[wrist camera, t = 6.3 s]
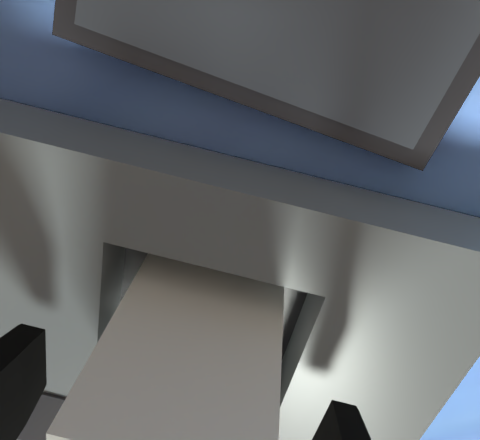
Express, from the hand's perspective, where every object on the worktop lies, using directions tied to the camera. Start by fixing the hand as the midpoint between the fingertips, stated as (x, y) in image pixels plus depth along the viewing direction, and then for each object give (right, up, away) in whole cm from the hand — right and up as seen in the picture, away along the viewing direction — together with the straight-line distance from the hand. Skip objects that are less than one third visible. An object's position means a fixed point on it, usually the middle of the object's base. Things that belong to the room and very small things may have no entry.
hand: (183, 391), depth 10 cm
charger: (0, +1, +3) cm, 3 cm away
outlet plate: (-1, +1, +3) cm, 4 cm away
